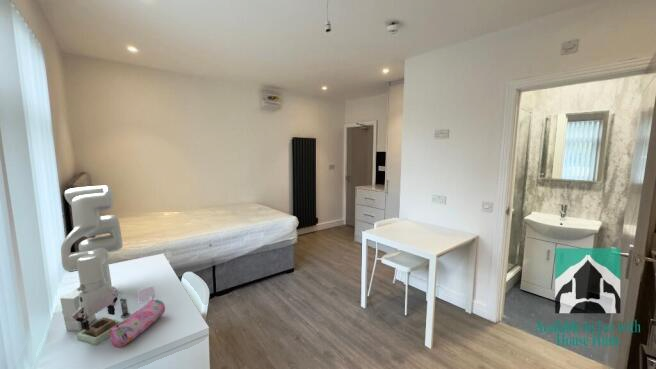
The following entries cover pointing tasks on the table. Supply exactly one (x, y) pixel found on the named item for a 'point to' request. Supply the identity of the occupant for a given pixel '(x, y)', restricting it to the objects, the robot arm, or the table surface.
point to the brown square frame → (100, 327)
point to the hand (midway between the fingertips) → (99, 321)
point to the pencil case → (136, 323)
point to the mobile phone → (146, 295)
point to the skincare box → (72, 310)
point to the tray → (94, 340)
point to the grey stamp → (124, 308)
